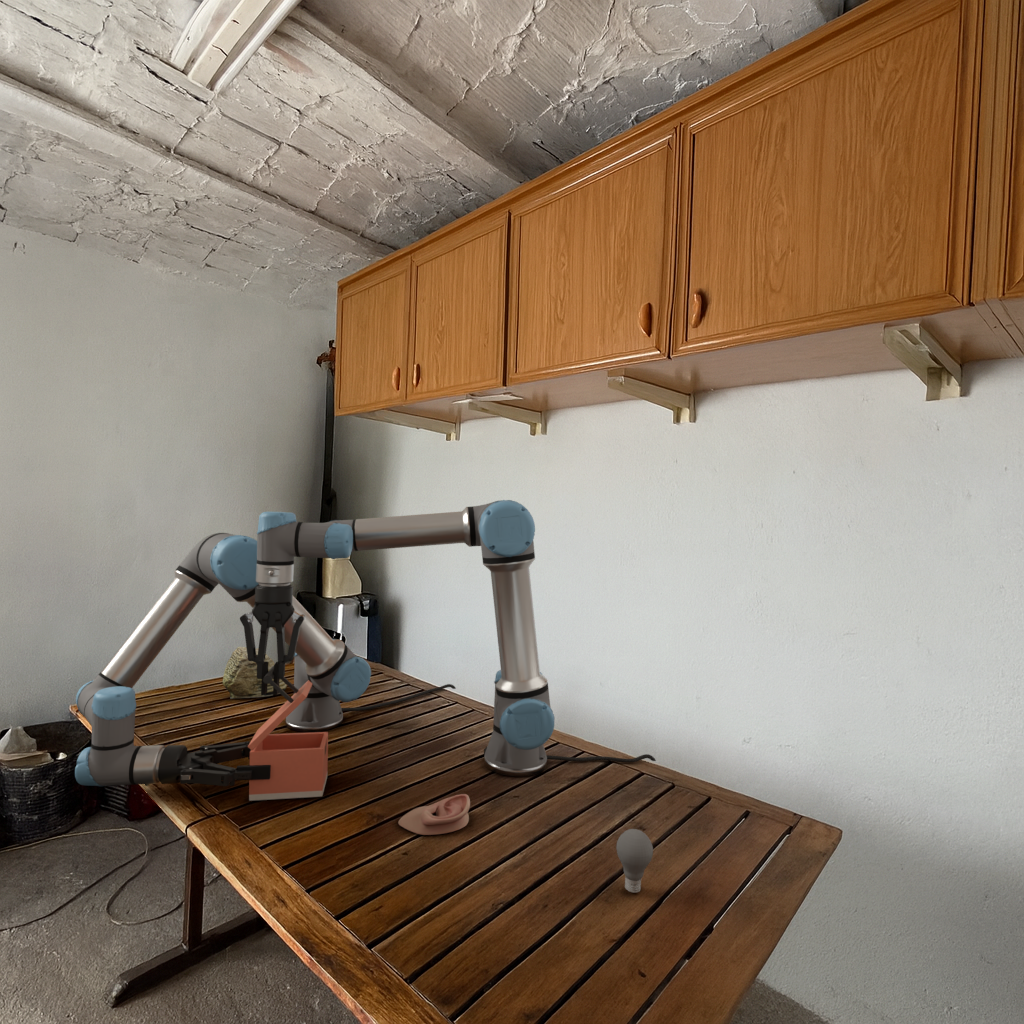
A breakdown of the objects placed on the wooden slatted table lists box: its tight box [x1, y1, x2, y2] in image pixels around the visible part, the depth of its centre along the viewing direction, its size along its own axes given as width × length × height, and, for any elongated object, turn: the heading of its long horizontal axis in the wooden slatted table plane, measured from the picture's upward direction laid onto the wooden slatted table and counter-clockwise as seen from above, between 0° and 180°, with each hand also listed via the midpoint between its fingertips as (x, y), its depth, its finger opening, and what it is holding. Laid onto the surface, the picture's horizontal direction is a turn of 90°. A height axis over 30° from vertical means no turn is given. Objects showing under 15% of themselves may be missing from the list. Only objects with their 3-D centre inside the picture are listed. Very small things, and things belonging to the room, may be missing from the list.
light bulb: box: [615, 828, 654, 894], centre depth 106 cm, size 6×6×10 cm
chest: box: [248, 731, 329, 802], centre depth 137 cm, size 15×10×10 cm
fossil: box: [222, 646, 288, 699], centre depth 198 cm, size 9×18×15 cm, turn 132°
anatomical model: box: [397, 793, 471, 836], centre depth 125 cm, size 13×4×12 cm
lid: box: [248, 666, 312, 751], centre depth 136 cm, size 15×10×9 cm
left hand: (275, 761), depth 136 cm, fingers closed on chest, 10 cm apart
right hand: (270, 693), depth 136 cm, fingers closed on lid, 2 cm apart
